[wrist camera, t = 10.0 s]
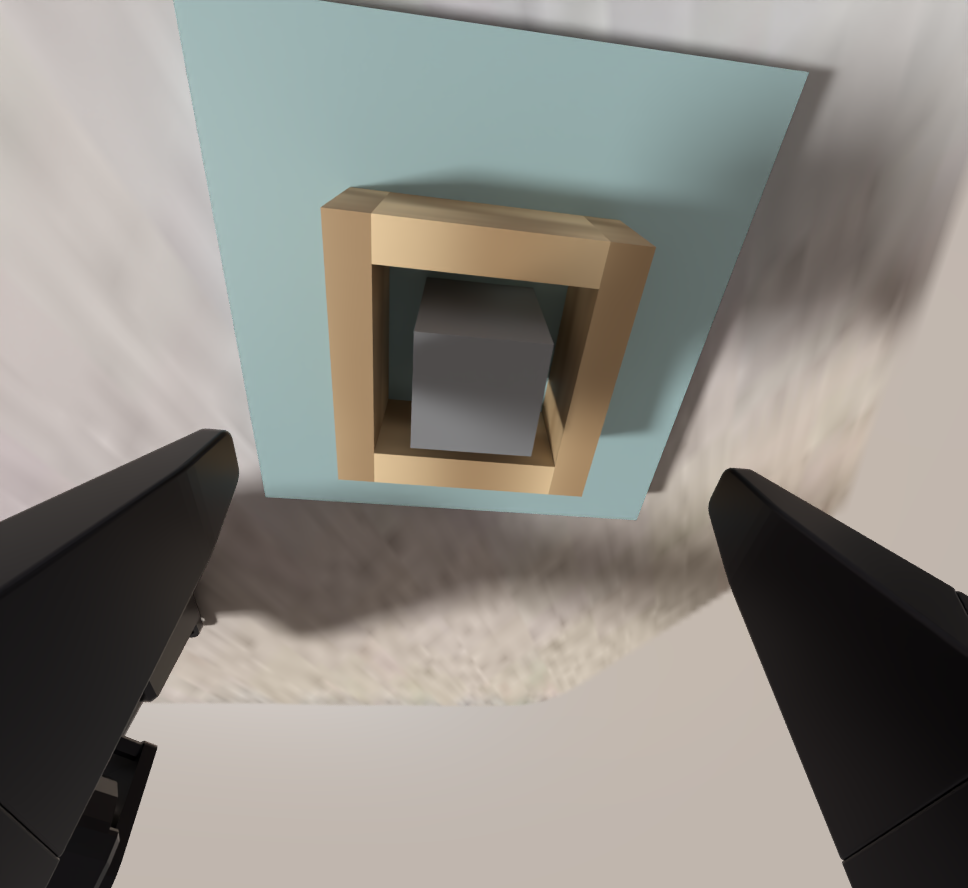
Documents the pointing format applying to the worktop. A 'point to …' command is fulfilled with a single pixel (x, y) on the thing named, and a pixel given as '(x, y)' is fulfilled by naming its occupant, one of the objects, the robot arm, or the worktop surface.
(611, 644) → the worktop surface
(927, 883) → the robot arm
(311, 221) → the post board
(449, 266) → the square frame
